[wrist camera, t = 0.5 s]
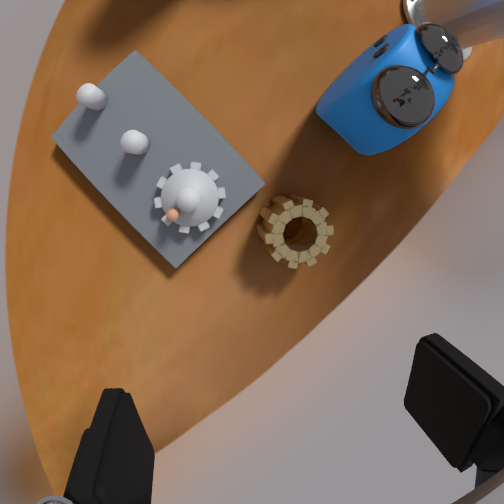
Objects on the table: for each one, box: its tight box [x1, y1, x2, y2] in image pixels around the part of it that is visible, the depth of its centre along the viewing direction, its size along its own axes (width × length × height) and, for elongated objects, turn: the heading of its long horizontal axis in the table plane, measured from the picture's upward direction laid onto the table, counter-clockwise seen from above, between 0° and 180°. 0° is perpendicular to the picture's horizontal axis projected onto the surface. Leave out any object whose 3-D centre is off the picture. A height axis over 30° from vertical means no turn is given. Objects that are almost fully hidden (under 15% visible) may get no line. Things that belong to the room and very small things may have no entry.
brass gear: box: [257, 194, 334, 269], centre depth 30 cm, size 6×6×5 cm
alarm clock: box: [316, 23, 464, 155], centre depth 23 cm, size 13×6×15 cm, turn 141°
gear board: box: [51, 50, 266, 268], centre depth 26 cm, size 12×19×6 cm, turn 42°
